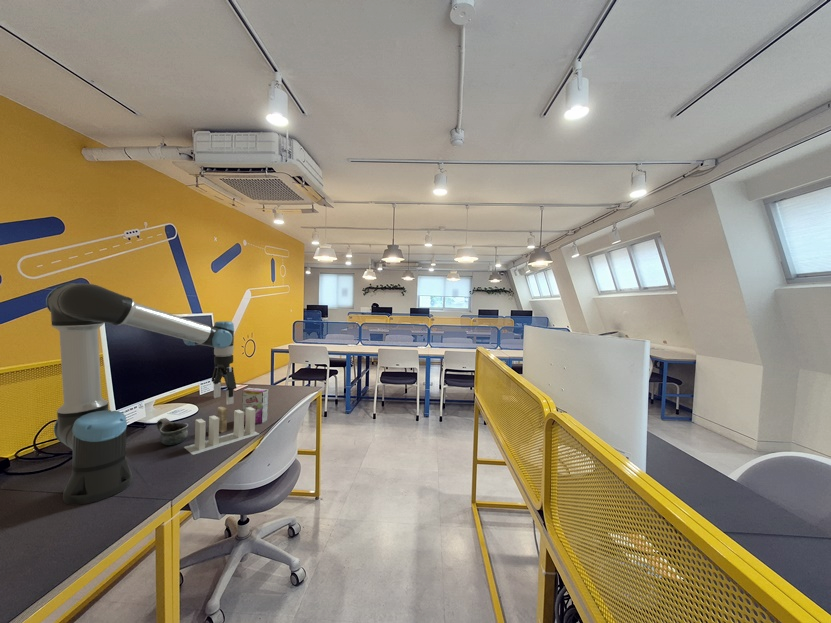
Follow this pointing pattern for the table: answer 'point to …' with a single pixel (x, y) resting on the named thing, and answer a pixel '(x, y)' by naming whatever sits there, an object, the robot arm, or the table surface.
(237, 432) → the domino
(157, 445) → the table surface
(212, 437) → the domino
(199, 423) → the domino
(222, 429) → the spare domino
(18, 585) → the table surface
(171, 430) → the mug
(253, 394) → the candy bar box
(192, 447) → the mat
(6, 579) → the table surface
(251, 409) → the domino
